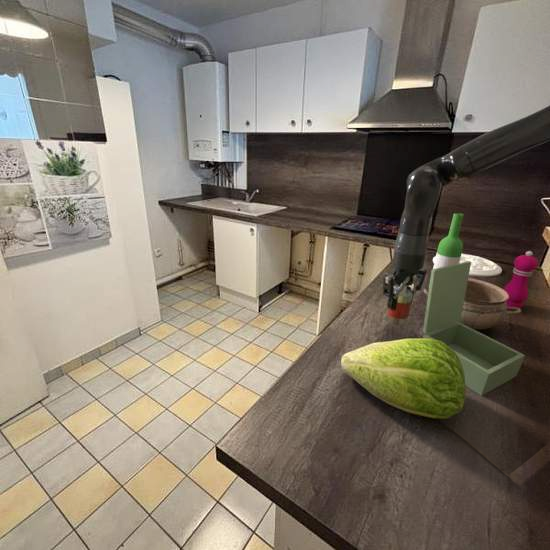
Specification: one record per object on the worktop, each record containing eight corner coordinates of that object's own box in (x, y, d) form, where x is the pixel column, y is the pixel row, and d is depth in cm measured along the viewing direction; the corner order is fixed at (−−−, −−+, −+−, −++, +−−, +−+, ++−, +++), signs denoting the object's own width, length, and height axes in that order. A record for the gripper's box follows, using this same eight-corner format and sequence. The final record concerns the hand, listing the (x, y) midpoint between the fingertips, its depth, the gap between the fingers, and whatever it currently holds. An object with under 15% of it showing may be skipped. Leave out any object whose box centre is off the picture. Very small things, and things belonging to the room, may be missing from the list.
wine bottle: (455, 293, 110) (476, 214, 99) (443, 298, 107) (464, 217, 95) (435, 286, 117) (453, 211, 105) (423, 290, 113) (441, 213, 101)
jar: (396, 313, 87) (401, 286, 83) (411, 322, 82) (417, 294, 79) (382, 318, 84) (387, 290, 81) (397, 327, 80) (402, 298, 76)
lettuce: (338, 415, 65) (362, 380, 77) (468, 438, 50) (471, 391, 63) (325, 352, 64) (351, 328, 76) (454, 357, 49) (460, 326, 62)
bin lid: (471, 261, 73) (467, 260, 74) (434, 270, 68) (431, 269, 68) (460, 320, 79) (457, 319, 79) (425, 333, 73) (422, 332, 74)
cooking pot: (414, 325, 90) (422, 290, 85) (422, 301, 104) (429, 270, 100) (515, 353, 78) (531, 313, 73) (508, 321, 92) (521, 286, 88)
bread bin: (515, 378, 69) (525, 355, 66) (480, 398, 63) (489, 373, 60) (452, 342, 82) (458, 321, 79) (418, 356, 76) (423, 334, 74)
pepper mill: (526, 306, 101) (548, 252, 93) (518, 312, 97) (540, 256, 90) (502, 298, 107) (520, 246, 99) (494, 304, 103) (512, 250, 95)
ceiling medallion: (452, 252, 156) (454, 246, 155) (513, 268, 134) (515, 262, 133) (420, 261, 143) (421, 255, 142) (481, 281, 121) (483, 274, 120)
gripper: (402, 257, 69) (390, 319, 76) (442, 249, 75) (428, 307, 81) (378, 249, 75) (370, 306, 82) (417, 242, 81) (406, 296, 88)
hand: (399, 306), depth 82 cm, fingers closed on jar, 5 cm apart
